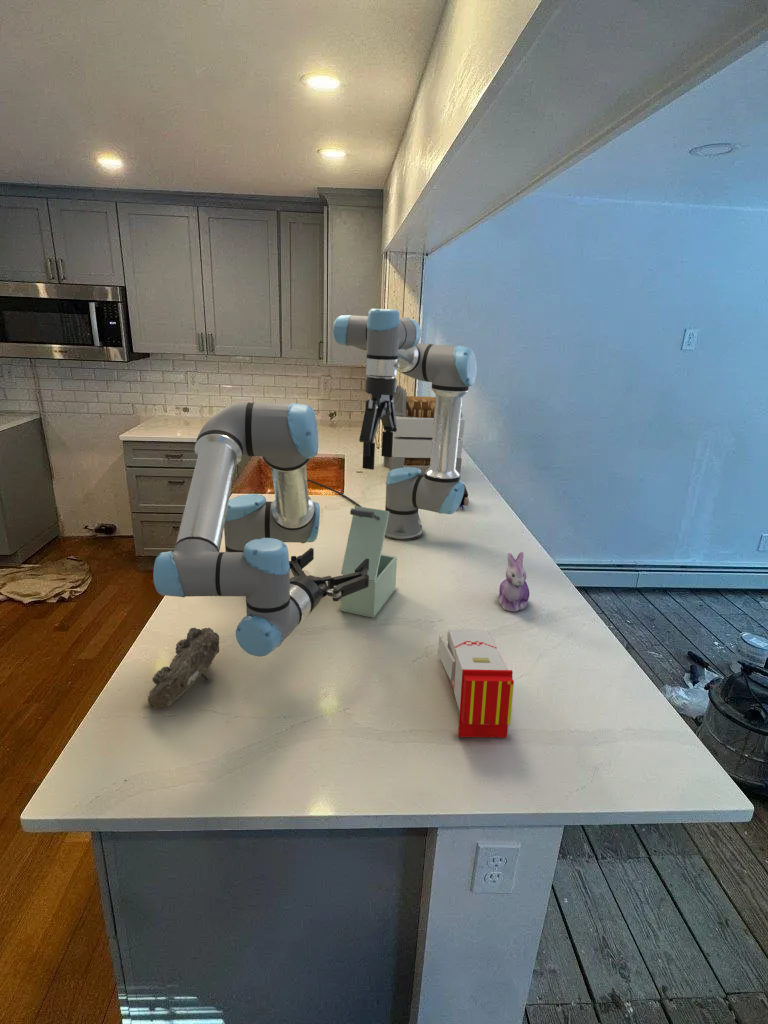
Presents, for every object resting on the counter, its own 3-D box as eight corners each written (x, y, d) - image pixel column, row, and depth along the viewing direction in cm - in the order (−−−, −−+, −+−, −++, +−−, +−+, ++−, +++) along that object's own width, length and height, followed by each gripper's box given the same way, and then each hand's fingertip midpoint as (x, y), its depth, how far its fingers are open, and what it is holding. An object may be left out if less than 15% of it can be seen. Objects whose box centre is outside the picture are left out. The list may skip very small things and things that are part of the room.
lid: (356, 506, 147) (345, 500, 139) (389, 511, 144) (380, 506, 136) (342, 574, 145) (330, 572, 137) (375, 581, 142) (366, 579, 134)
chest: (365, 583, 163) (366, 551, 160) (395, 589, 160) (397, 557, 157) (340, 610, 148) (341, 576, 144) (373, 618, 145) (375, 583, 142)
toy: (488, 613, 130) (523, 677, 101) (484, 667, 133) (517, 744, 104) (435, 612, 130) (455, 676, 101) (432, 666, 133) (451, 743, 103)
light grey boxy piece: (382, 463, 289) (386, 382, 275) (445, 464, 293) (451, 384, 279) (390, 482, 257) (394, 392, 243) (460, 483, 261) (468, 394, 247)
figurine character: (468, 514, 225) (463, 498, 239) (470, 497, 222) (465, 482, 235) (451, 514, 225) (447, 498, 238) (453, 497, 222) (449, 481, 235)
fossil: (174, 630, 128) (220, 599, 123) (204, 658, 131) (250, 629, 126) (125, 701, 108) (178, 668, 103) (161, 733, 111) (215, 702, 106)
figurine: (511, 616, 149) (518, 564, 143) (487, 598, 157) (493, 549, 152) (539, 609, 153) (547, 558, 148) (514, 592, 161) (521, 544, 156)
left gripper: (239, 604, 114) (290, 564, 133) (354, 631, 107) (390, 584, 126) (238, 571, 112) (289, 534, 131) (355, 595, 104) (392, 553, 123)
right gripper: (378, 383, 124) (374, 476, 131) (411, 373, 146) (406, 453, 154) (346, 380, 126) (344, 472, 134) (383, 371, 149) (380, 450, 156)
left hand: (339, 558), depth 128 cm, fingers open, 13 cm apart
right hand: (377, 462), depth 144 cm, fingers open, 13 cm apart
